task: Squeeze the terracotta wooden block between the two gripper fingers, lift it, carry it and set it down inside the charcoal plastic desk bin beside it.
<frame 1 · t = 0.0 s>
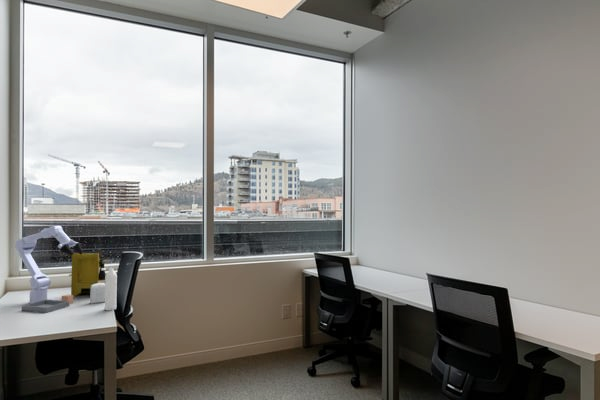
hand: (77, 254, 236), 32 cm above the table, tool tilted 50°, fingers open, 7 cm apart
white spray bottle: (108, 309, 226), on the table
terracotta block: (67, 303, 241), on the table
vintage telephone: (91, 295, 264), on the table
photo printer: (99, 302, 243), on the table
desk bin: (46, 308, 227), on the table
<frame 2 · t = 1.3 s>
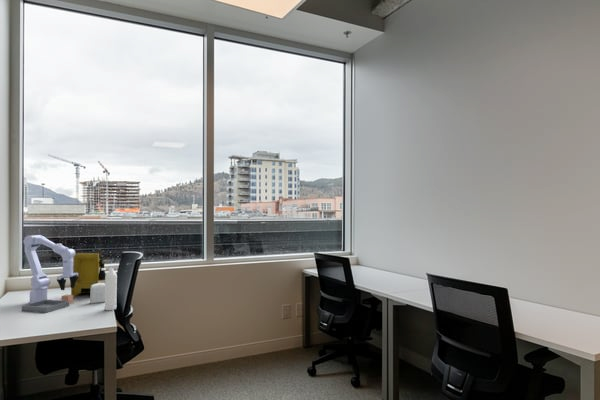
hand: (67, 288, 241), 9 cm above the table, tool pointing down, fingers open, 7 cm apart
nothing on the table moved.
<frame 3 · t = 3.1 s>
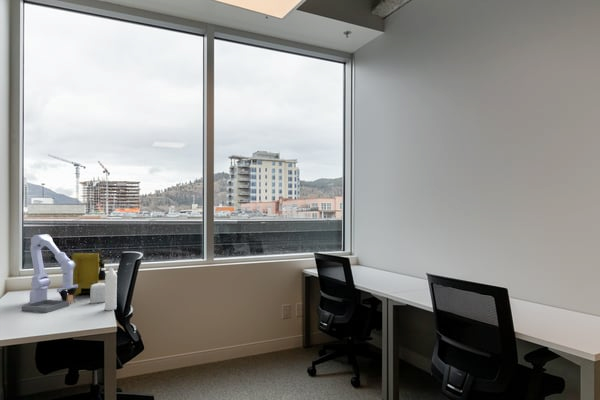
hand: (67, 300, 241), 1 cm above the table, tool pointing down, fingers closed on terracotta block, 4 cm apart
terracotta block: (67, 303, 241), on the table, touching gripper
everything else where it was.
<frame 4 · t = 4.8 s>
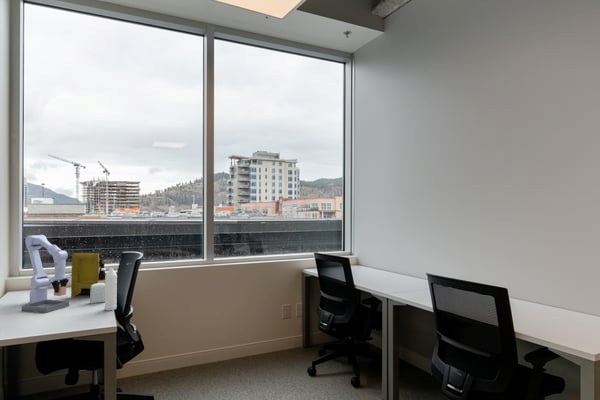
hand: (59, 291, 236), 8 cm above the table, tool pointing down, fingers closed on terracotta block, 4 cm apart
terracotta block: (59, 295, 236), point 6 cm above the table, touching gripper
everything else where it was.
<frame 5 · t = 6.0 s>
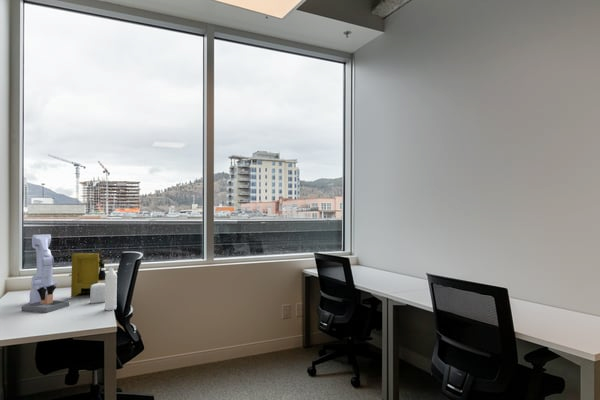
hand: (46, 299, 227), 6 cm above the table, tool pointing down, fingers closed on terracotta block, 4 cm apart
terracotta block: (46, 303, 227), point 3 cm above the table, touching gripper
everything else where it was.
when the fingers open (3 cm above the table, at t = 6.8 s): terracotta block stays where it is, resting on desk bin.
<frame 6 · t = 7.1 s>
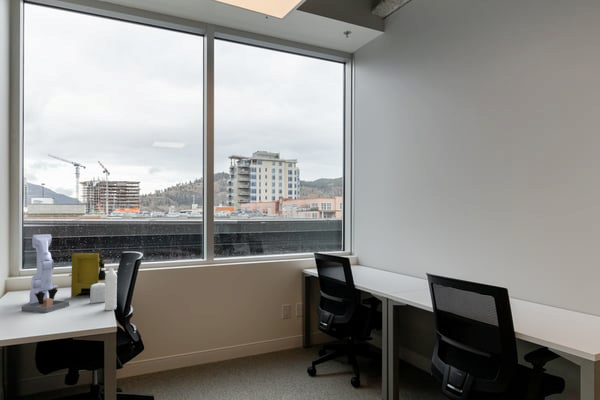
hand: (46, 302, 227), 3 cm above the table, tool pointing down, fingers open, 6 cm apart
terracotta block: (46, 307, 227), point 1 cm above the table, touching desk bin
everything else where it was.
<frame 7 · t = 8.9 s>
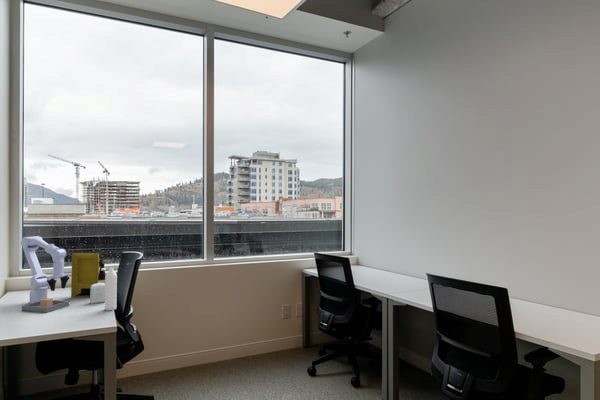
hand: (58, 289, 238), 9 cm above the table, tool pointing down, fingers open, 7 cm apart
nothing on the table moved.
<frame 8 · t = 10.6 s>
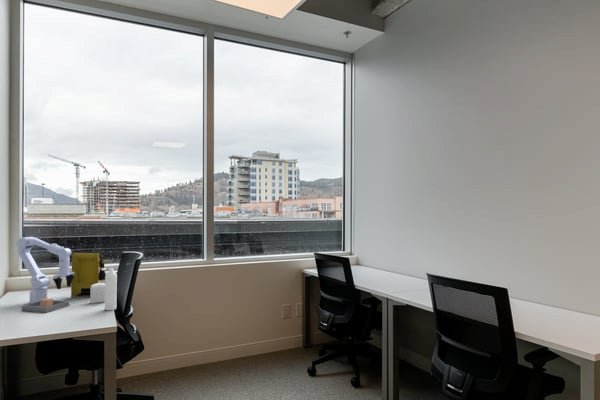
hand: (63, 287, 243), 9 cm above the table, tool pointing down, fingers open, 7 cm apart
nothing on the table moved.
at the end: terracotta block inside the target area on the desk bin (0.3 cm from its centre), point 0.6 cm above the desk bin's base; the gripper is holding nothing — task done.
